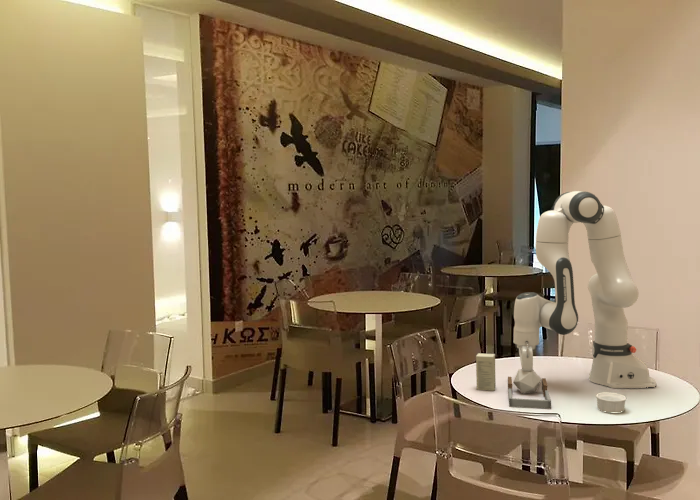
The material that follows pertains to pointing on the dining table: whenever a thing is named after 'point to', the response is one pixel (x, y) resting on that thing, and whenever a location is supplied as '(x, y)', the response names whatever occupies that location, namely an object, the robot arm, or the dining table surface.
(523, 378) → the die
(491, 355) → the skincare box
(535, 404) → the tray
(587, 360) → the dining table surface
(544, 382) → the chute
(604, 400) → the ramekin
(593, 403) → the dining table surface
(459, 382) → the dining table surface
